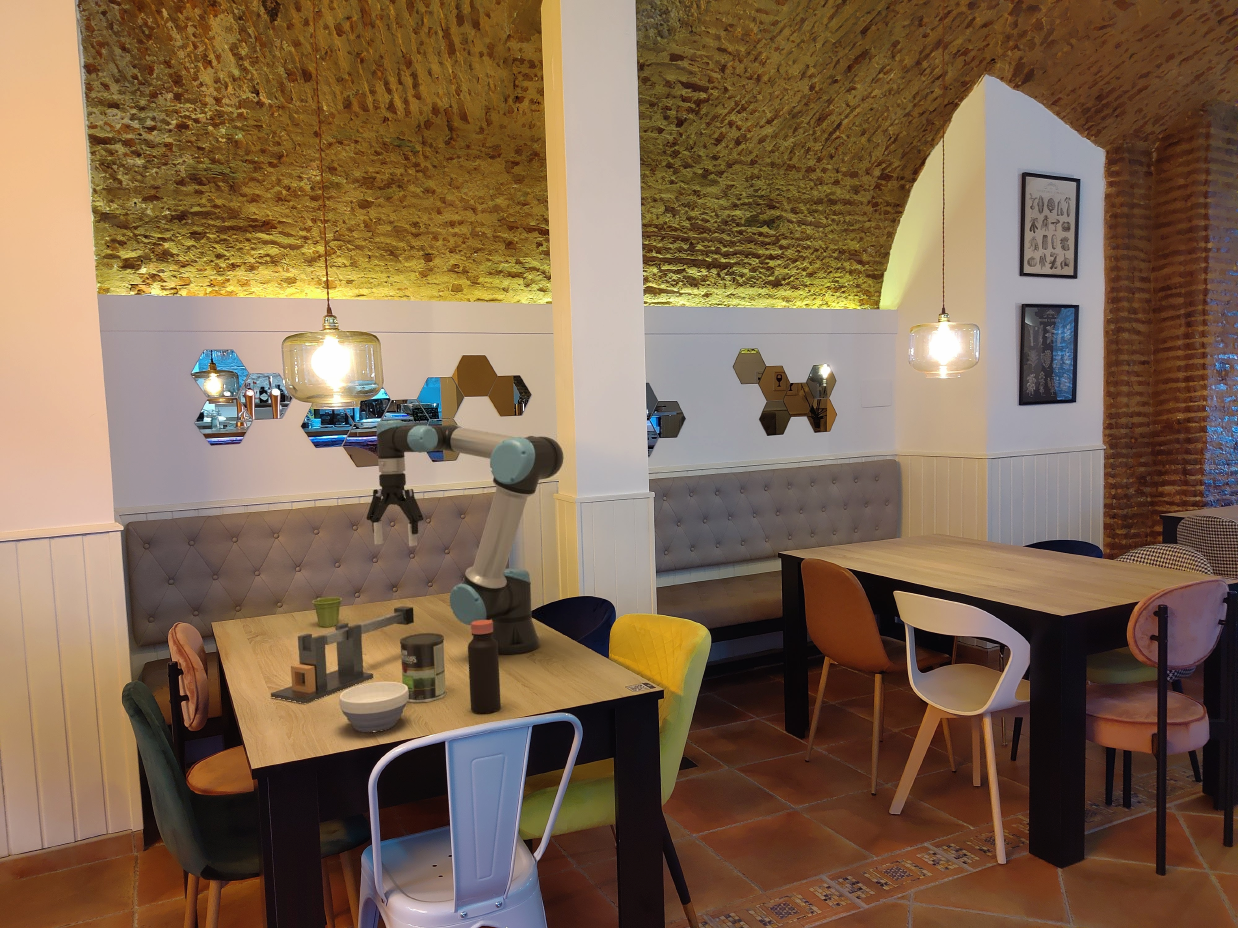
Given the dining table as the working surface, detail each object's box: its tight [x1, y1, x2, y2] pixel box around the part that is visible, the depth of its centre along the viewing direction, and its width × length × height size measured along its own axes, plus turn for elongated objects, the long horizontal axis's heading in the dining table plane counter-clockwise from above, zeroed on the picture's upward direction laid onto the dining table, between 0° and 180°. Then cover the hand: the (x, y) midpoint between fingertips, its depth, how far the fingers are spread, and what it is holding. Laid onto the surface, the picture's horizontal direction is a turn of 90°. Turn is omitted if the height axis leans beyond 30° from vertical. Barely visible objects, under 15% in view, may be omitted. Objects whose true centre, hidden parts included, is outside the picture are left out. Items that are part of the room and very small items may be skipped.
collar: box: [290, 663, 316, 693], centre depth 205 cm, size 6×2×6 cm, turn 61°
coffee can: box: [399, 632, 447, 704], centre depth 201 cm, size 10×10×14 cm
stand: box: [270, 622, 374, 704], centre depth 210 cm, size 12×22×14 cm, turn 151°
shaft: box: [321, 605, 415, 646], centre depth 224 cm, size 4×30×4 cm, turn 151°
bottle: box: [467, 619, 502, 715], centre depth 189 cm, size 7×7×20 cm
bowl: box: [338, 681, 409, 733], centre depth 182 cm, size 14×14×8 cm
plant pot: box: [312, 596, 343, 628], centre depth 280 cm, size 9×9×9 cm
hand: (395, 544), depth 246 cm, fingers open, 13 cm apart
